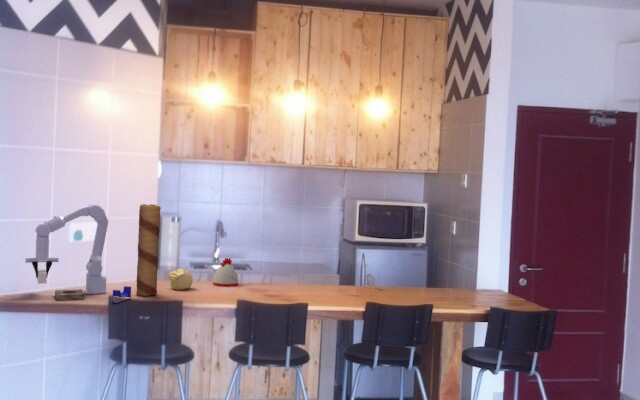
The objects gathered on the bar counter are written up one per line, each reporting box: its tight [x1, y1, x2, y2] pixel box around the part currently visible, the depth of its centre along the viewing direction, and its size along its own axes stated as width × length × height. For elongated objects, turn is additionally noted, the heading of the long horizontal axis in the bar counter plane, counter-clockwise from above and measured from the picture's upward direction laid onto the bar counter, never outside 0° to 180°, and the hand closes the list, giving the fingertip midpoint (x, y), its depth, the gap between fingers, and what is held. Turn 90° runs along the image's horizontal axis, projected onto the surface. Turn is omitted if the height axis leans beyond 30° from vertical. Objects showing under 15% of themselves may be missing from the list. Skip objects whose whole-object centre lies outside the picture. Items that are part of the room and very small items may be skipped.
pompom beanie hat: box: [212, 257, 239, 288], centre depth 360 cm, size 14×14×15 cm
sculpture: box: [168, 268, 194, 291], centre depth 341 cm, size 12×12×11 cm
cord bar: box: [36, 268, 48, 285], centre depth 309 cm, size 4×14×5 cm, turn 26°
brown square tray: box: [54, 288, 86, 302], centre depth 307 cm, size 12×13×2 cm
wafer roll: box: [136, 203, 162, 297], centre depth 321 cm, size 10×11×45 cm
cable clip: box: [112, 285, 132, 298], centre depth 305 cm, size 12×4×6 cm, turn 169°
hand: (41, 277), depth 309 cm, fingers closed on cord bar, 3 cm apart
